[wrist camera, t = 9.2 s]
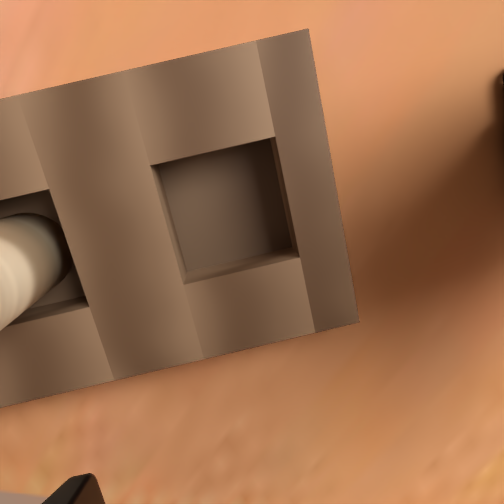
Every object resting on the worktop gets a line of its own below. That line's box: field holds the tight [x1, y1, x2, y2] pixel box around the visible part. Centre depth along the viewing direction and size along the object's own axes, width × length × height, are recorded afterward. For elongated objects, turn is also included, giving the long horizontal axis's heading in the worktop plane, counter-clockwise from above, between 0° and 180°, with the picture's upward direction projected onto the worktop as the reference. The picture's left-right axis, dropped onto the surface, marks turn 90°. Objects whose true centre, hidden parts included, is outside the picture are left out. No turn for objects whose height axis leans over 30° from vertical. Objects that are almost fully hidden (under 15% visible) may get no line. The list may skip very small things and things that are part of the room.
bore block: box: [0, 29, 360, 408], centre depth 18 cm, size 18×12×2 cm, turn 103°
